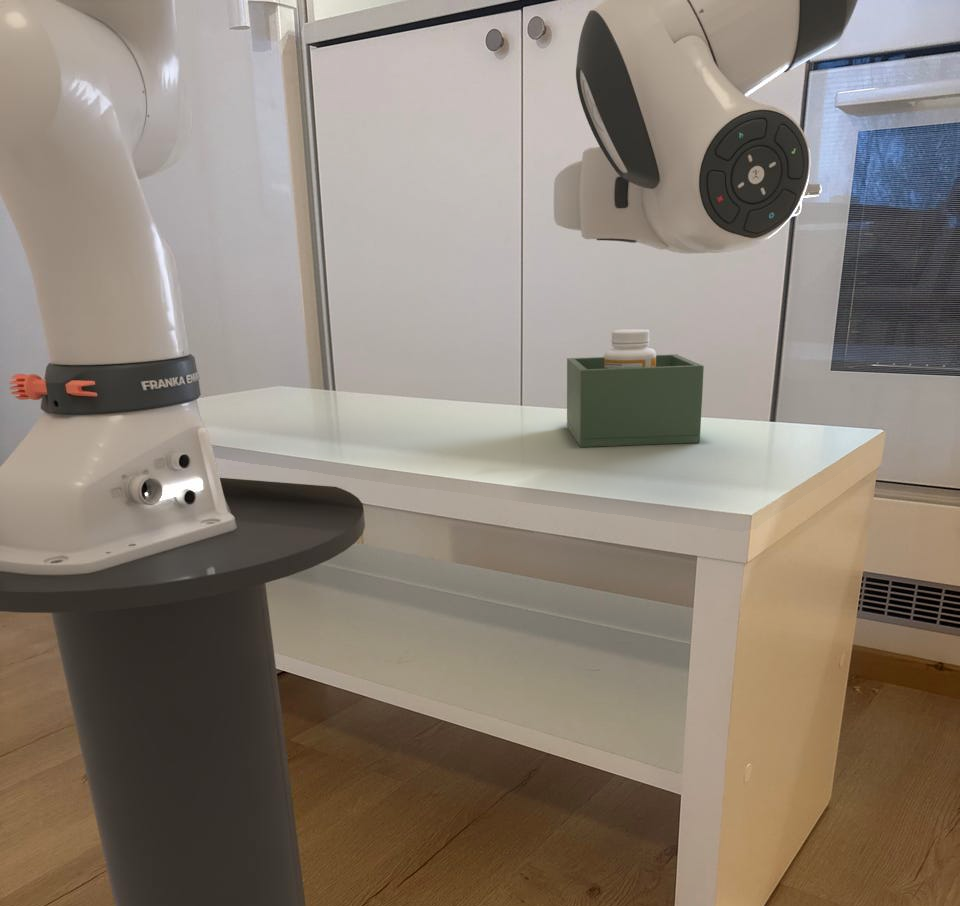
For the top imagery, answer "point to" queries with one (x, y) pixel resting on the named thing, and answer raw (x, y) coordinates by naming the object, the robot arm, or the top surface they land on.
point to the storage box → (634, 402)
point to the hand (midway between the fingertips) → (658, 201)
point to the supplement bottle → (630, 350)
